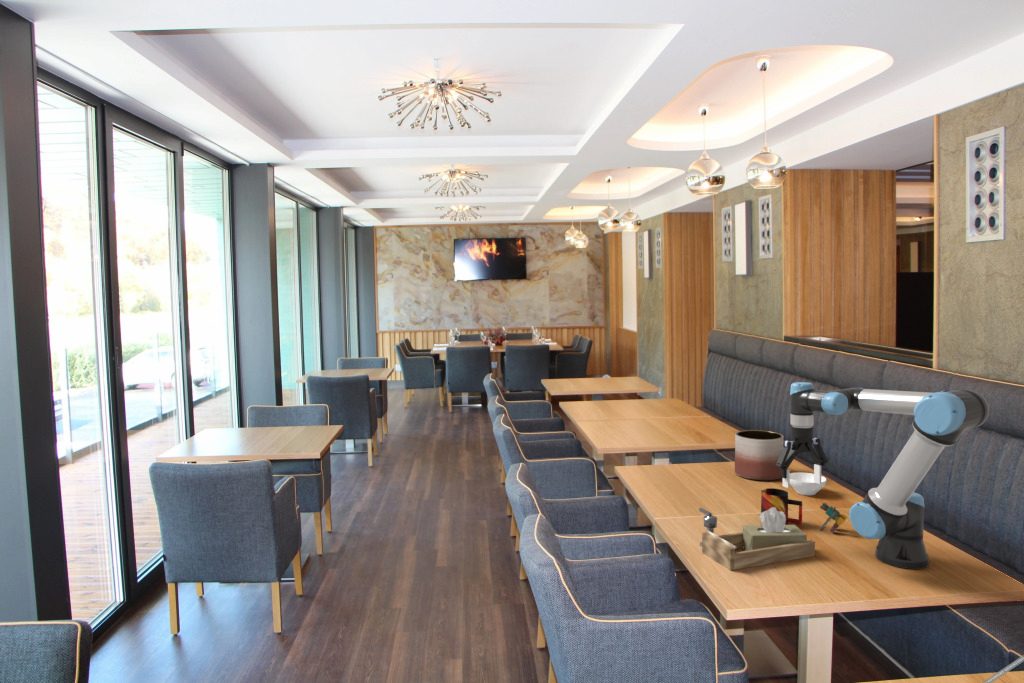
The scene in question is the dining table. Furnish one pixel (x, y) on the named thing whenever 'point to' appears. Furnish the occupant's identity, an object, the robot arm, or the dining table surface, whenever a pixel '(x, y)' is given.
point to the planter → (758, 454)
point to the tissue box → (771, 532)
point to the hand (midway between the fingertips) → (802, 485)
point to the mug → (779, 503)
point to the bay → (750, 551)
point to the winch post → (709, 521)
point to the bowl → (806, 483)
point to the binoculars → (833, 516)
